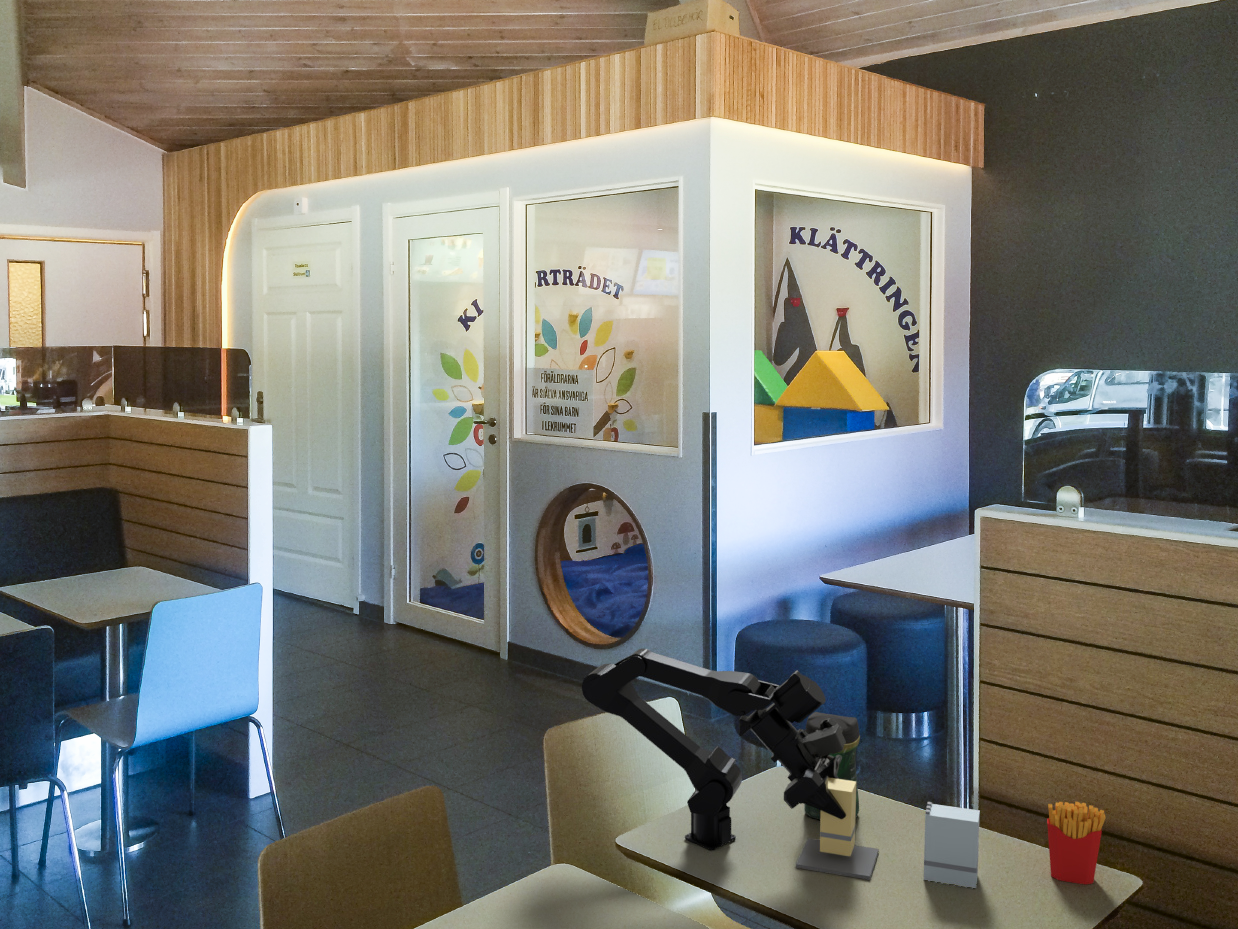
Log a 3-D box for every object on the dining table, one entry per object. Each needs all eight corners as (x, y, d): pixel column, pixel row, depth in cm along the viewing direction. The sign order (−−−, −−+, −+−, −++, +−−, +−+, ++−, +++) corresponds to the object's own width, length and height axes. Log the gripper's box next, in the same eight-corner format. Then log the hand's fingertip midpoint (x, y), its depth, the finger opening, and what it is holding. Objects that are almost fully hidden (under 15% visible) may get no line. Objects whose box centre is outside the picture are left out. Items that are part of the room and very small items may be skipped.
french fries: (1045, 878, 177) (1048, 806, 176) (1045, 867, 181) (1048, 797, 179) (1102, 887, 174) (1106, 814, 173) (1101, 876, 178) (1105, 804, 176)
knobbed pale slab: (923, 880, 177) (925, 812, 176) (926, 867, 181) (927, 801, 180) (976, 889, 174) (978, 820, 173) (977, 875, 178) (979, 808, 177)
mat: (795, 867, 182) (795, 864, 181) (807, 841, 191) (807, 837, 191) (870, 880, 177) (870, 876, 177) (878, 852, 187) (878, 848, 186)
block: (819, 851, 183) (821, 787, 181) (824, 839, 187) (826, 777, 185) (850, 856, 181) (852, 792, 179) (854, 844, 185) (856, 781, 184)
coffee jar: (863, 810, 203) (865, 712, 200) (851, 828, 196) (853, 727, 193) (811, 801, 207) (813, 705, 205) (798, 817, 200) (799, 718, 198)
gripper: (805, 729, 174) (874, 806, 171) (826, 692, 191) (890, 762, 188) (755, 770, 177) (822, 846, 175) (780, 730, 195) (842, 799, 192)
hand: (846, 811), depth 183 cm, fingers closed on block, 4 cm apart
